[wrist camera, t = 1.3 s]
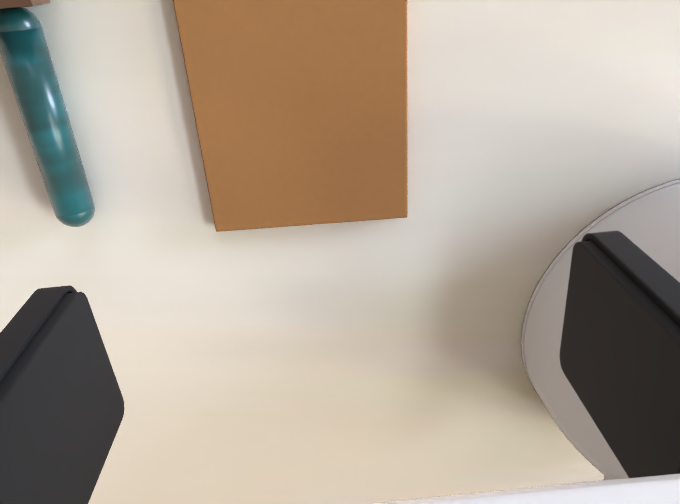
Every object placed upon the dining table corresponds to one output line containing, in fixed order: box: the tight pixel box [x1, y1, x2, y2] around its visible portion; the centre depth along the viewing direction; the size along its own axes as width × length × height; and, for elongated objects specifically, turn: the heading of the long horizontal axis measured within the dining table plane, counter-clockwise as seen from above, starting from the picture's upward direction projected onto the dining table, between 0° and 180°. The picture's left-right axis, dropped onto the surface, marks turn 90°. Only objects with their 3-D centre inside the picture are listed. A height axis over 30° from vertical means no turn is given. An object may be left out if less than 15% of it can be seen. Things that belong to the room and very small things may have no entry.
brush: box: [0, 0, 95, 227], centre depth 28 cm, size 19×4×4 cm, turn 3°
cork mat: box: [173, 0, 407, 232], centre depth 30 cm, size 20×12×1 cm, turn 3°
